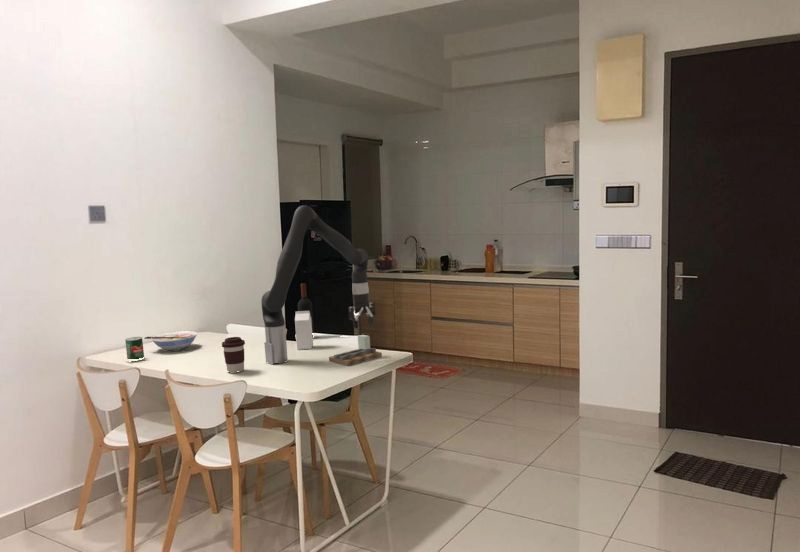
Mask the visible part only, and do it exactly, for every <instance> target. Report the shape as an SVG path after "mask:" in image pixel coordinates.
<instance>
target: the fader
mask: <svg viewBox="0 0 800 552" xmlns="http://www.w3.org/2000/svg"><path fill="white" fill-rule="evenodd" d="M370 337H371V336H370V335H365V334H359V335H357V345H358V348H357V349H362V350H361V351H363V350H367V349H371V339H370Z"/></svg>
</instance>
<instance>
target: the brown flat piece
mask: <svg viewBox="0 0 800 552" xmlns="http://www.w3.org/2000/svg"><path fill="white" fill-rule="evenodd" d="M361 350H362V349H359V348H356V349H353V350H349V351H345V352H342V353H341V352H340V353H337V354H333V355H331V356H329V357H328V362H330V363H333V364H338V365H342V366H347V367H349V366H353V365H357V364H360V363H365V362H369V361H371V360H375V359H379V358H382V357H383V353H382V352H381V351H377V348H376V347H370V349H367V350H363V351H361Z"/></svg>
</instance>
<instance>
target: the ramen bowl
mask: <svg viewBox="0 0 800 552" xmlns="http://www.w3.org/2000/svg"><path fill="white" fill-rule="evenodd" d="M197 335H198V333H197V332H196V331H189V330H188V331H186V330H185V331H173V332H166V333H162V334H157V335H155V336H146V337H144V339H145V340H146V339H148V340H149V339H150V340H152V342H153V343H154V344H155V345H156V346H157V347H158V348H160V349H164V350H167V351H169V350H177V351H181V350H183V349H185V348H186V347H188V346H190V345H191V344H193V342H194V341H195V339H196V337H197Z"/></svg>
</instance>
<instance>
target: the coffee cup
mask: <svg viewBox="0 0 800 552" xmlns="http://www.w3.org/2000/svg"><path fill="white" fill-rule="evenodd" d="M245 341H246V340H244V339H242V338H241V337H240V336H230V337H227V338H225V339H224V340H223V342H221V347H222V348H223V355H224V363H225V366H226V372H227V371H229V372H237V371H242V370H245V348H244V346H245V344H246V342H245ZM242 372H243V371H242Z"/></svg>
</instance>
